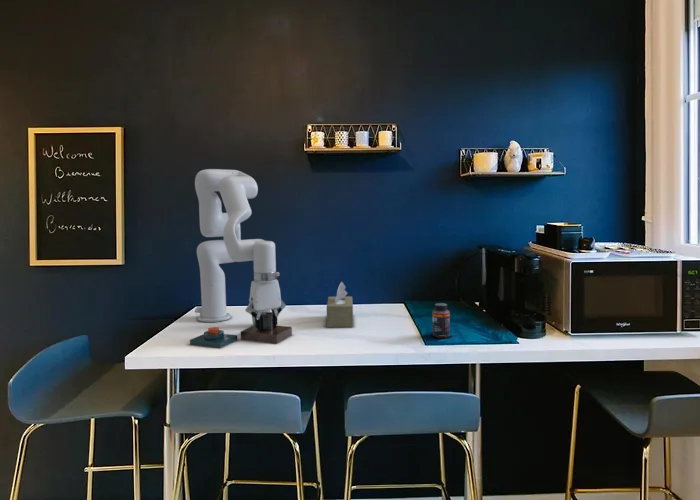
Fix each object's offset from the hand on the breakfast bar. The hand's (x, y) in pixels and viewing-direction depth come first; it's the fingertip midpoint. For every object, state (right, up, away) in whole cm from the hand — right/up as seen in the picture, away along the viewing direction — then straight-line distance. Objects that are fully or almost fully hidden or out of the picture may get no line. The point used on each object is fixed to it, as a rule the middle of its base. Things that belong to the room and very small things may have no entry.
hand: (266, 327), depth 175 cm
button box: (-17, -4, -5) cm, 18 cm away
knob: (0, 0, 0) cm, 0 cm away
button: (-17, -1, -5) cm, 18 cm away
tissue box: (+25, -1, +22) cm, 33 cm away
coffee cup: (-5, -2, +16) cm, 17 cm away
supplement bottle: (+61, -3, 0) cm, 61 cm away
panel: (0, -3, 0) cm, 3 cm away
